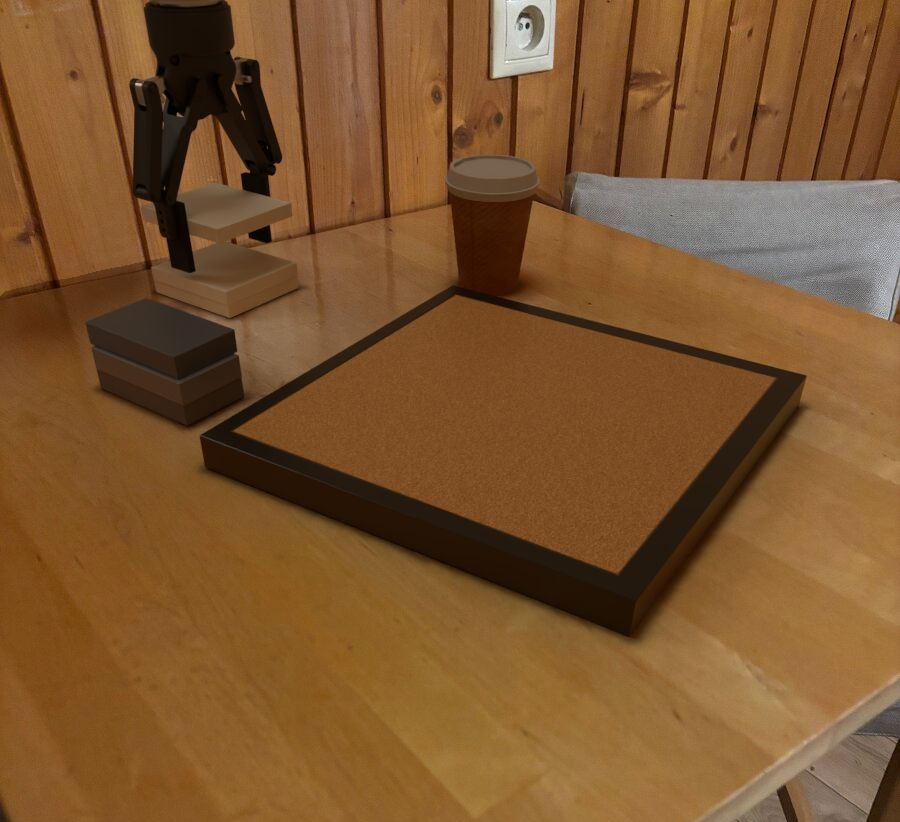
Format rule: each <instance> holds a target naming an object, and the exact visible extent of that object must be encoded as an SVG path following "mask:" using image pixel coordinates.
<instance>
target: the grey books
mask: <svg viewBox="0 0 900 822" xmlns="http://www.w3.org/2000/svg"><path fill="white" fill-rule="evenodd" d="M84 324H85V328H86V331H87V335H88V339H89V343H90V344H91V345H92V346H91V347H90V349H91V353H92V357H93V358H92V359H93V362H94V365H95V369H96V373H97V377H98V380H99V385H100V388H101V389H102V390H103V391H106V392H108V393H111V394H113V395H116V396H118V397H120V398H122V399H124V400H127V401H129V402H131V403H134V404H136V405H138V406H140V407H143V408H145V409H148V410H150V411H152V412H154V413H157V414H159V415H161V416H163V417H166V418H168V419H170V420H173V421H175V422H177V423H179V424H182V425H184V426H186V427H188V426H190V425H192V424H194V423H196V422H198V421H200V420H201V419H203V418H205V417H207V416H209V415H211V414H213V413H215V412H217V411H219V410H221V409H223V408H224V407H225V408H226V407H227V406H229V405H230V404H232V403H234V402H236V401H238V400H241V399H242V398H244V397H245V393H244V384H243V379H242V377H243V374H242V369H241V360H240V355H239V354H236V353H237V352H238V345H237V337H236V331H235V329H234V328H232V327H228V326H226V325H223V324H220V323H218V322H214V321H212V320H209V319H206V318H204V317H201V316H198V315H195V314H193V313H190V312H187V311H184V310H181V309H179V308H176V307H173V306H170V305H168V304H165V303H162V302H159V301H156V300H153V299H151V298H148V297H144V298H142V299H139V300H137V301H134V302H132V303H129V304H126V305H124V306H122V307H119V308H117V309H114V310H111V311H108V312H107V313H104V314H101V315H98V316H96V317H94V318H91V319H89V320H86V321H85V322H84Z"/></svg>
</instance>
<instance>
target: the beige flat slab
mask: <svg viewBox="0 0 900 822" xmlns="http://www.w3.org/2000/svg"><path fill="white" fill-rule="evenodd" d="M176 201H179V202H183V203H185V209H186V215H187V223H188V229H189V234H190V236H194V237H197V238H200V239H203V240H206V241H210V242H213V243H223V242H225V241H226V242H229V241H230V240H233V239H236V238H238V237H241V236H244V235H247V234H248V233H249V232H252V231H255V230H257V229H260V228H263V227H265V226H268V225H270V226H271V225H274V224H276V223H279V222H282V221H284V220H287V219H289V218H292V217H293V206H292V202H291V201H287V200H283V199H279V198H276V197H272V196H271V197H268V196H264V195H260V194H257V193H253V192H249V191H245V190H243V189H241V188H238V187H233V186H229V185H226V184H223V183H218V182H213V183H210V184H206V185H204V186H200V187H197V188H193V189H190V190H188V191H184V192H181V193H178V195H177V200H176ZM140 211H141V217H142V221H144V222H147V223H151V224H154V225H157V226H158V221H157V216H156V210H155V206H154V204H153V202H150V203H146V204H143V205H140Z"/></svg>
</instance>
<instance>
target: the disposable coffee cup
mask: <svg viewBox="0 0 900 822" xmlns="http://www.w3.org/2000/svg"><path fill="white" fill-rule="evenodd" d="M536 167H537V166H536V165H535V163H534V162H532V161H530V160H528V159H525V158H522V157H518V156H513V155H505V154H489V153H488V154H487V153H486V154H473V155H467V156H464V157H463V156H462V157H459V158H456V159H454V160H453V161H451V162H450V164H449V167H448V171H447V174H446V175H445V177H444V183H445V185H446V188H447V191H448V192H449V199H450V208H451V210H450V211H451V218H452V226H453V227H452V230H453V238H454V244H455V245H454V248H455V256H456V265H457V274H458V275H457V276H458V285H459V286H458V287H462V288H466V289H470V290H474V291H478V292H482V293H485V294H489V295H493V296H500V295H501V296H502V295H506V294H509V293H512V292H514V291H515V290H516V289H517V288H518V286H519V279H520V273H521V268H522V261H523V257H524V251H525V246H526V240H527V234H528V229H529V224H530V218H531V213H532V209H533V208H532V207H533V202H534V196H535V194H536V192H537V191H538V190H537V189H538V187H539V185H540V181H541V179H540V178H539V177H538V175H537V168H536Z"/></svg>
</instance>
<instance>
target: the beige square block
mask: <svg viewBox="0 0 900 822" xmlns="http://www.w3.org/2000/svg"><path fill="white" fill-rule="evenodd" d="M192 252H193V258H194V264H195V270H196V271H195V272H192V273H187V272H184V271H181V270H178V269H175V268H172V267H171V262H170V259H168V260H166V261H164V262H163V261H162V262H161V263H158V264H155V265H153V266H151V267H150V270H151V274H152V279H153V282H154V287H155V292H156V293H157V294H161V295H163V296H166V297H168V298H172V299H175V300H178V301H180V302H183V303H186V304H189V305H190V306H191V305H192V306H194V307H197V308H199V309H202V310H204V311H208V312H211V313H214V314H217V315H220V316H223V317H224V318H225V317H226V318H228V319H231V318H233V317H236V316H239V315H241V314H242V313H245V312H247V311H250V310H252V309H255V308H256V307H259V306H261V305H263V304H266V303H269V302H270V301H273V300H274V299H277V298H279V297H281V296H283V295H286V294H288V293H291V292H293V291H295V290H297V289H299V288H300V286H299V277H298V276H299V275H298V266H297V262H295V261H292V260H288V259H285V258H283V257H282V258H281V257H279V256H275V255H273V254H269V253H265V252H262V251H259V250H256V249H252V248H249V247H245V246H242V245H240V244H236V243H233V242H229V241H225V242H223V243H216V242H214V243H211V244H209V245H207V246H203V247H201V248H199V249H196V250H192Z"/></svg>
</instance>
